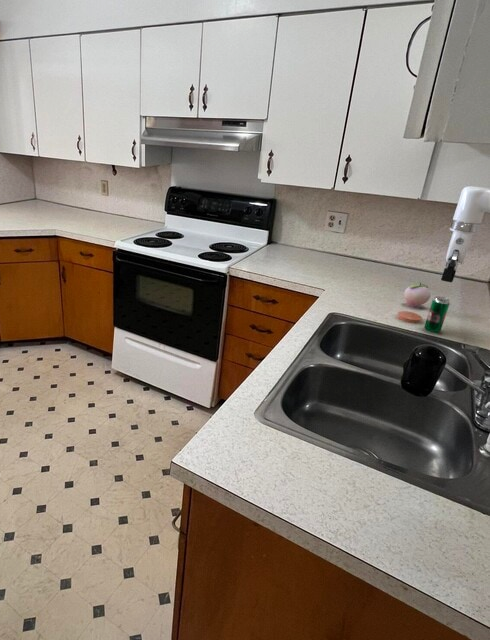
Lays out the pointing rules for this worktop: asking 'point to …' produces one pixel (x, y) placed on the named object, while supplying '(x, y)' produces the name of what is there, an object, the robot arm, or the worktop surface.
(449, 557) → the worktop surface
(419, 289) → the decorative fruit
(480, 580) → the worktop surface
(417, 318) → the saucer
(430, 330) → the soda can
